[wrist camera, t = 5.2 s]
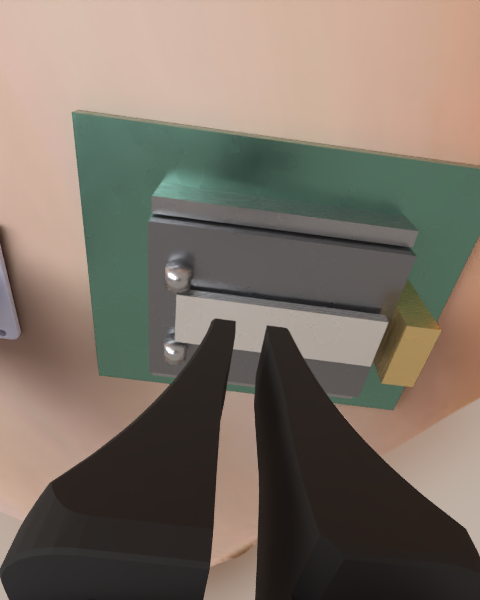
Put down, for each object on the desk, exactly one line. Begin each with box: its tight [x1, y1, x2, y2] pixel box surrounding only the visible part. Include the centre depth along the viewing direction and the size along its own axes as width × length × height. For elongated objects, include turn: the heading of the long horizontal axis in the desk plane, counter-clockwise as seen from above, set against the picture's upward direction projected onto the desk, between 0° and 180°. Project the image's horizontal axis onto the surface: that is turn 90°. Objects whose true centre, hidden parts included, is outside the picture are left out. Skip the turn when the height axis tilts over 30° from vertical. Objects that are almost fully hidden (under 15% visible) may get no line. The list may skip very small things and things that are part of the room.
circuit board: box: [72, 110, 480, 410], centre depth 20 cm, size 20×16×5 cm
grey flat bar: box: [175, 289, 389, 367], centre depth 19 cm, size 10×3×1 cm, turn 83°
